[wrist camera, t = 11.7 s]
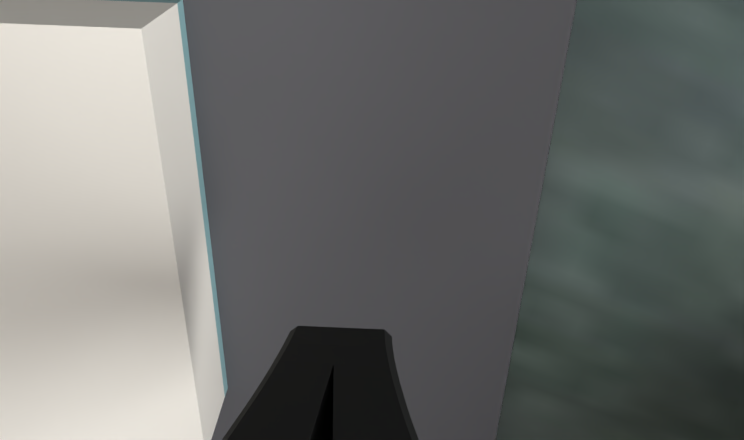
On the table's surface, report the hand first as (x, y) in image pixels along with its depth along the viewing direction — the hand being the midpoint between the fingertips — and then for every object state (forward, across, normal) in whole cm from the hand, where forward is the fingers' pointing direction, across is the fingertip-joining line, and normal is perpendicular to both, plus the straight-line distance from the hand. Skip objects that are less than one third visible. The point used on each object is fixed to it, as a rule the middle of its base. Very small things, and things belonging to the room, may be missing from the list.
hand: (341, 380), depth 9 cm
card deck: (+3, +3, 0) cm, 5 cm away
